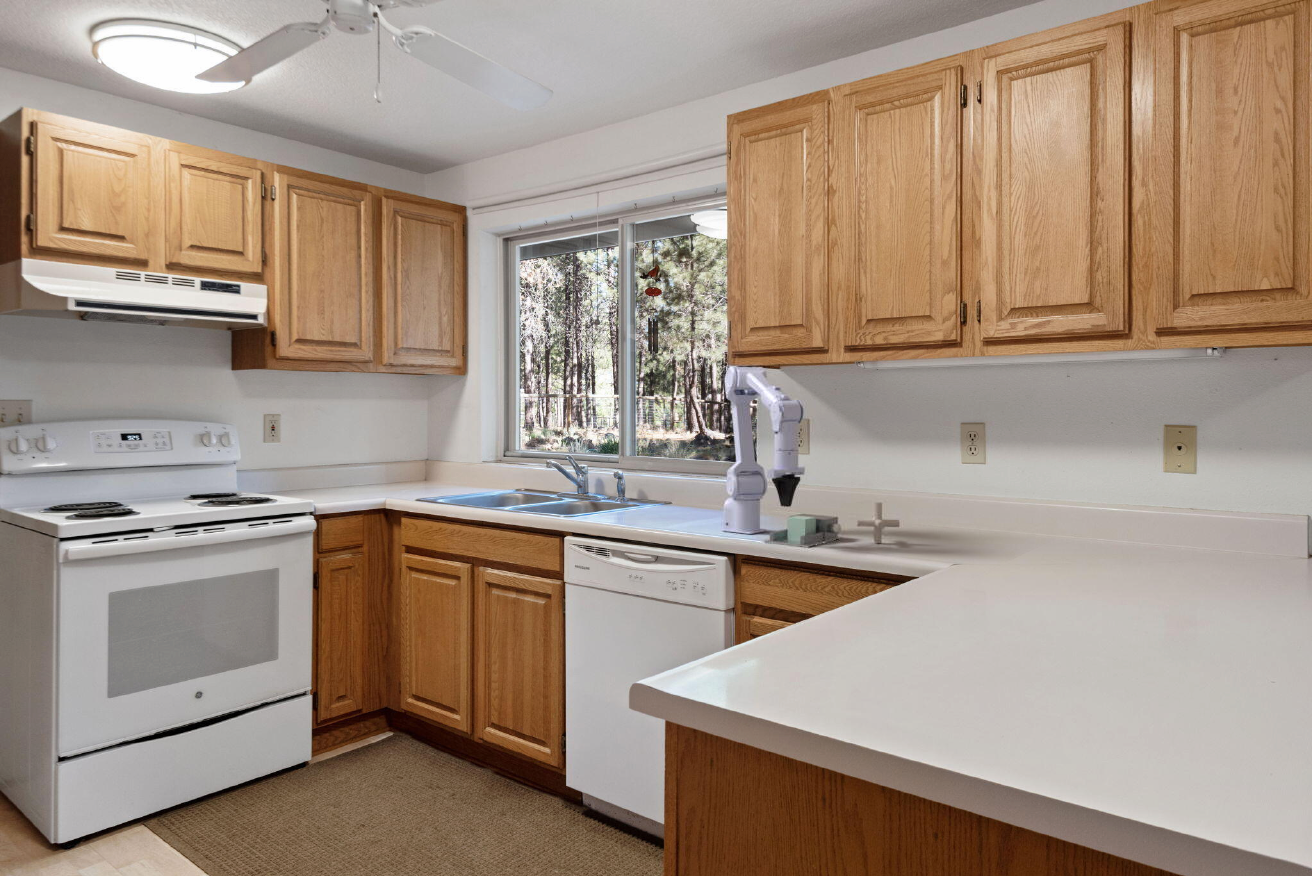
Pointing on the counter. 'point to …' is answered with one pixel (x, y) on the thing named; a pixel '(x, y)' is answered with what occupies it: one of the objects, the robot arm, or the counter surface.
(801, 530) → the pale mint cube
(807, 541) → the motor mount
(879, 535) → the pipe connector
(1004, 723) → the counter surface
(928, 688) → the counter surface
